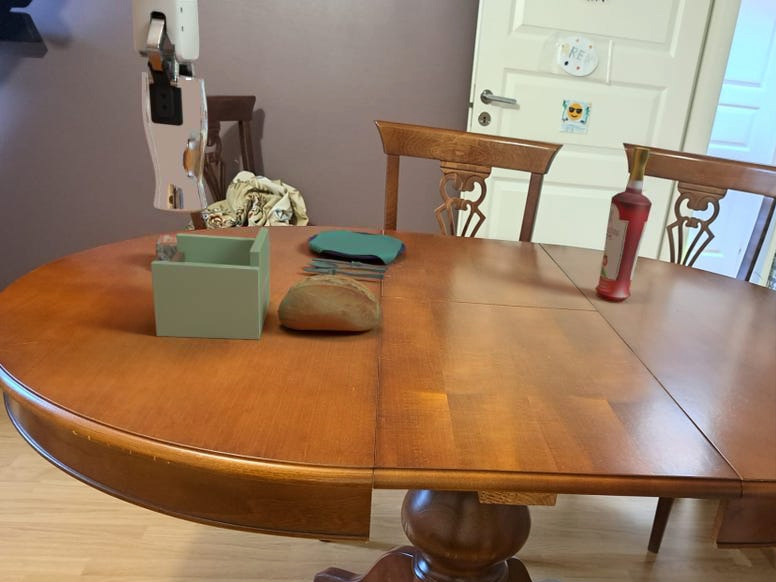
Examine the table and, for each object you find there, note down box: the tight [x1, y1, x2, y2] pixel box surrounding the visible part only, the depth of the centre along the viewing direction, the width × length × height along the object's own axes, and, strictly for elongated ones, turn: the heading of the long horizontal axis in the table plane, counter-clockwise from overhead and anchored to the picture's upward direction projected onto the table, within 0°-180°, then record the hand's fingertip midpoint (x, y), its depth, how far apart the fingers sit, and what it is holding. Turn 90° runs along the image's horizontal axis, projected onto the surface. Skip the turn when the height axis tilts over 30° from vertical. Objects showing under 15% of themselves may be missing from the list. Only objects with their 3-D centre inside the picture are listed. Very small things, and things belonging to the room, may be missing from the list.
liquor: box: [594, 146, 653, 303], centre depth 123 cm, size 7×7×28 cm
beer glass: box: [141, 71, 209, 214], centre depth 78 cm, size 7×7×15 cm
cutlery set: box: [302, 229, 407, 280], centre depth 132 cm, size 20×30×2 cm, turn 0°
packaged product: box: [154, 234, 177, 262], centre depth 117 cm, size 18×5×10 cm
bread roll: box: [277, 274, 384, 332], centre depth 96 cm, size 10×15×8 cm, turn 102°
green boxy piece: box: [150, 227, 271, 341], centre depth 94 cm, size 13×16×12 cm
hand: (175, 120), depth 77 cm, fingers closed on beer glass, 7 cm apart
